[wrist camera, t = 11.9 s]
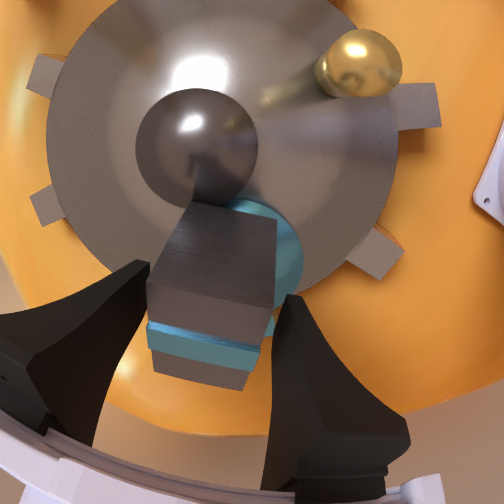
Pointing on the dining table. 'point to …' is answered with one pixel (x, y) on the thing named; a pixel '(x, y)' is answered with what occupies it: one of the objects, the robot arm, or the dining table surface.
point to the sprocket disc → (229, 130)
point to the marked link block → (212, 295)
